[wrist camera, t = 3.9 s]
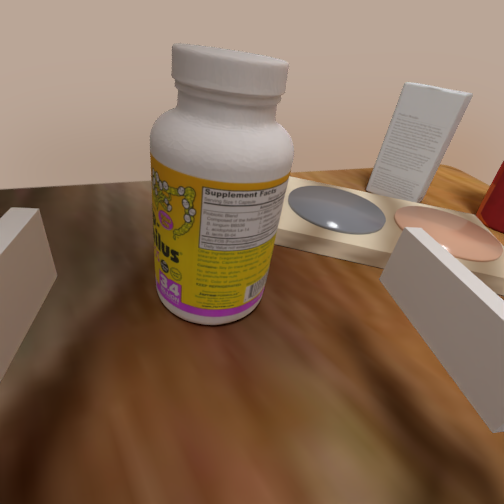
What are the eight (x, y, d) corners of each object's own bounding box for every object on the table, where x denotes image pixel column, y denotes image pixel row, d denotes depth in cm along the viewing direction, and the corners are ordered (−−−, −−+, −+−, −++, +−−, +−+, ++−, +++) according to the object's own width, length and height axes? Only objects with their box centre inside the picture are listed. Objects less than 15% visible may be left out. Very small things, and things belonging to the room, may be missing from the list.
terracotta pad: (405, 247, 25) (407, 243, 25) (386, 201, 32) (387, 198, 32) (522, 272, 24) (524, 269, 24) (475, 220, 32) (477, 217, 31)
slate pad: (283, 220, 26) (283, 217, 25) (291, 181, 33) (292, 179, 33) (393, 244, 25) (394, 241, 25) (376, 199, 32) (377, 196, 32)
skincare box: (422, 200, 38) (475, 93, 32) (412, 210, 35) (468, 94, 29) (376, 183, 41) (415, 81, 34) (363, 190, 38) (404, 81, 31)
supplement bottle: (155, 260, 21) (145, 34, 14) (247, 257, 23) (281, 56, 16) (156, 338, 16) (143, 43, 9) (275, 325, 18) (344, 74, 11)
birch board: (271, 243, 25) (274, 227, 24) (285, 188, 35) (288, 176, 34) (527, 300, 24) (540, 286, 23) (466, 226, 34) (474, 214, 33)
